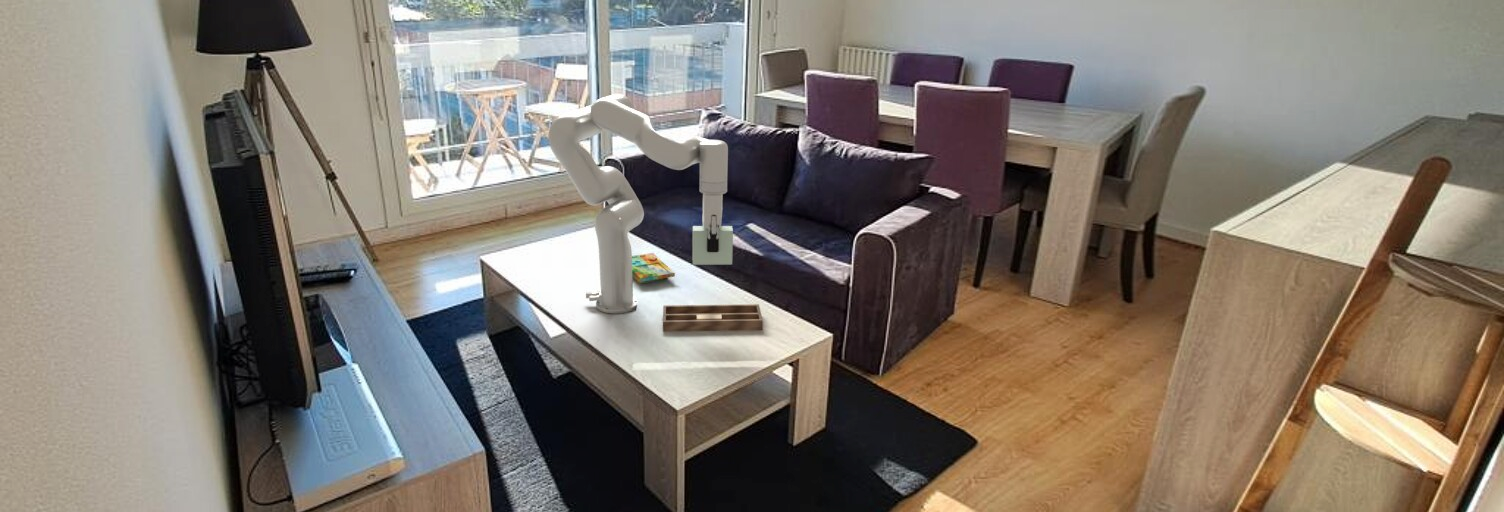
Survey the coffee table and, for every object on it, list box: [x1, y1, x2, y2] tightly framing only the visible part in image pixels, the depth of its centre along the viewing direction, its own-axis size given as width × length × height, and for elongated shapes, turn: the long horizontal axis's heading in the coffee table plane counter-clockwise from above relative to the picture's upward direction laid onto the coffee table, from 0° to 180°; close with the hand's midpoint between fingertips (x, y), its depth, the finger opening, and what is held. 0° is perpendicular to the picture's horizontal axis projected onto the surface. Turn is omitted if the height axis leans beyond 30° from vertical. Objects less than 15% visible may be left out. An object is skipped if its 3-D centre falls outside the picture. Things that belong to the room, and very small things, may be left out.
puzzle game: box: [632, 252, 676, 284], centre depth 259 cm, size 12×5×20 cm
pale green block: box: [692, 225, 734, 266], centre depth 219 cm, size 11×4×10 cm, turn 95°
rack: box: [662, 303, 764, 333], centre depth 225 cm, size 28×11×4 cm, turn 95°
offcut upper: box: [697, 314, 722, 320], centre depth 221 cm, size 7×3×2 cm, turn 95°
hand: (712, 248), depth 219 cm, fingers closed on pale green block, 4 cm apart
